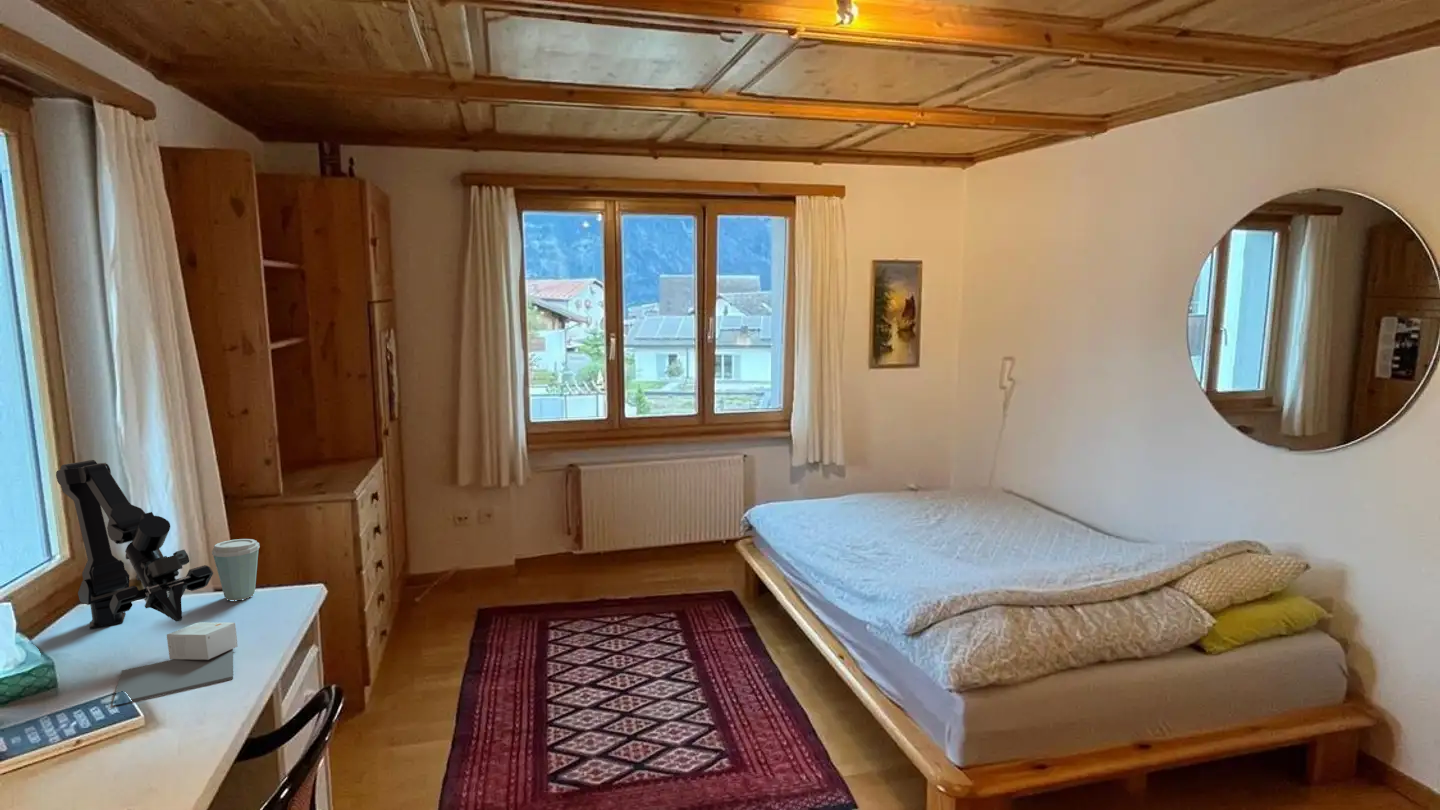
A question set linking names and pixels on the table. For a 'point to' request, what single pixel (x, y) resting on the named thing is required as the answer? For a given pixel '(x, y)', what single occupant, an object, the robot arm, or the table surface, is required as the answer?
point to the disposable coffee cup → (237, 567)
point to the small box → (202, 641)
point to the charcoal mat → (174, 676)
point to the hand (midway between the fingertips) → (179, 620)
